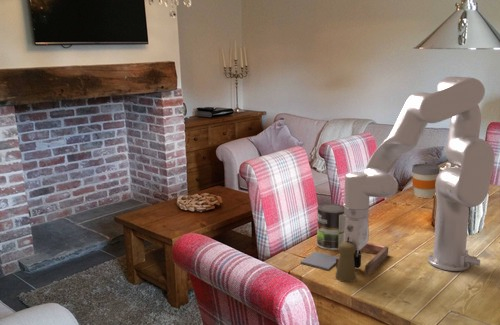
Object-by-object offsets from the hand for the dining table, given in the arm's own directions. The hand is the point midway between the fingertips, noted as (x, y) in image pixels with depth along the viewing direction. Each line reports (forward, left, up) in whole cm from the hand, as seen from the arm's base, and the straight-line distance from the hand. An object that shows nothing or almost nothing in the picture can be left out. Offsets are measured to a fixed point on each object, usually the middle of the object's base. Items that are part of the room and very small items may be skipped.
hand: (355, 266), depth 146 cm
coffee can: (+15, -14, -1) cm, 21 cm away
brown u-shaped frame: (0, -7, -1) cm, 7 cm away
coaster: (+12, +1, -1) cm, 12 cm away
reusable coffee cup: (+3, -94, -1) cm, 95 cm away
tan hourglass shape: (0, +7, -1) cm, 7 cm away
